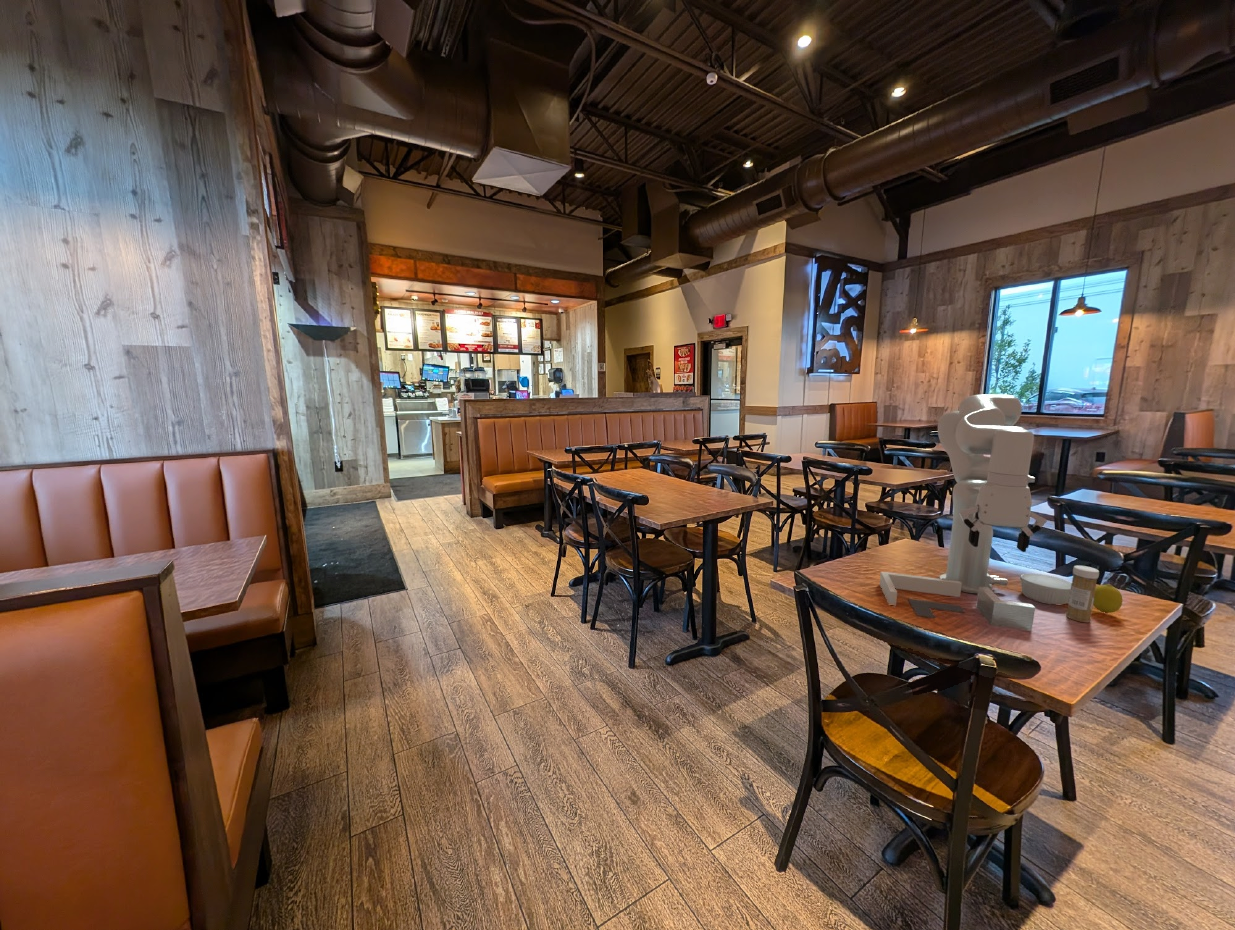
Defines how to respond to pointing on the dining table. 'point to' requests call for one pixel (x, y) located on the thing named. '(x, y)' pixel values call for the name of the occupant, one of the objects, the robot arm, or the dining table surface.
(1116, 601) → the lemon
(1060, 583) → the ramekin
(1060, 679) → the dining table surface
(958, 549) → the robot arm
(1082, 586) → the sprinkles bottle
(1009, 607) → the angle bracket
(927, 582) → the light grey l-shaped block
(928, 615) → the pose mat
